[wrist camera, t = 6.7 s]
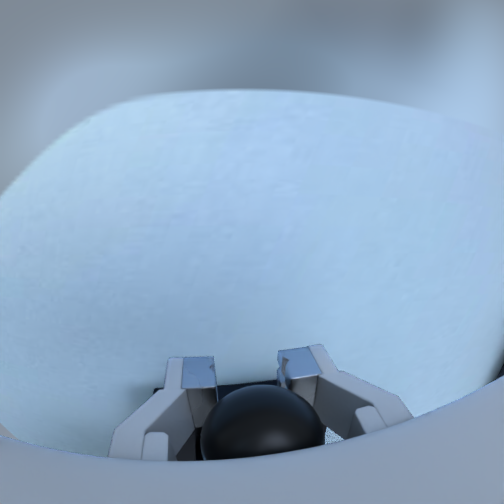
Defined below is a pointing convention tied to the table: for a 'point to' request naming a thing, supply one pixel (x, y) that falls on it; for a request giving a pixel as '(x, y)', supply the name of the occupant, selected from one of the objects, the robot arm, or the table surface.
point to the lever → (260, 424)
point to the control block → (501, 372)
